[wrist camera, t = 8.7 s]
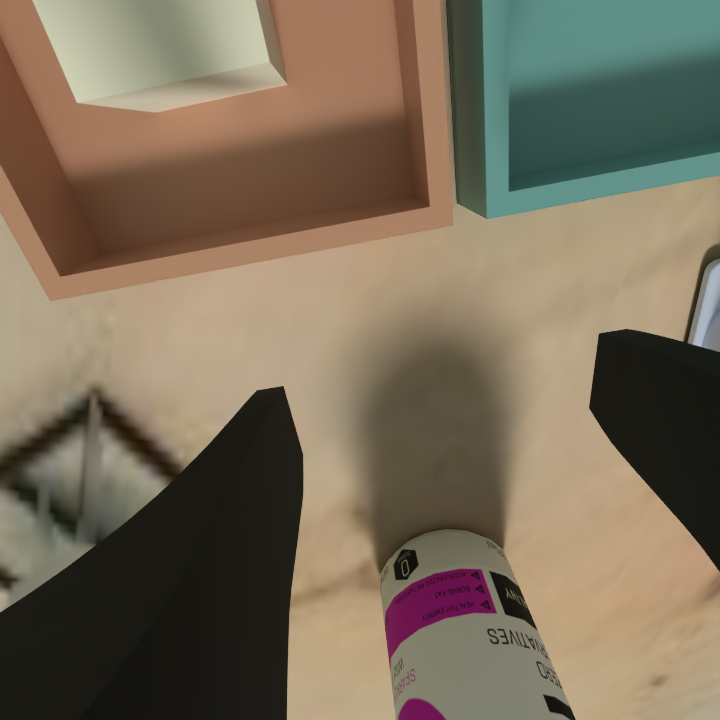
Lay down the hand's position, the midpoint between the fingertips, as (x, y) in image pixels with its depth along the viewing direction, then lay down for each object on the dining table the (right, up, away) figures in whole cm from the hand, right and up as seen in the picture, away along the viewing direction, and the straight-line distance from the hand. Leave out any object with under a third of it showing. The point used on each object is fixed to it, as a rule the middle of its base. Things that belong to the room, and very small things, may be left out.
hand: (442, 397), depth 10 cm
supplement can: (+3, -12, +18) cm, 22 cm away
